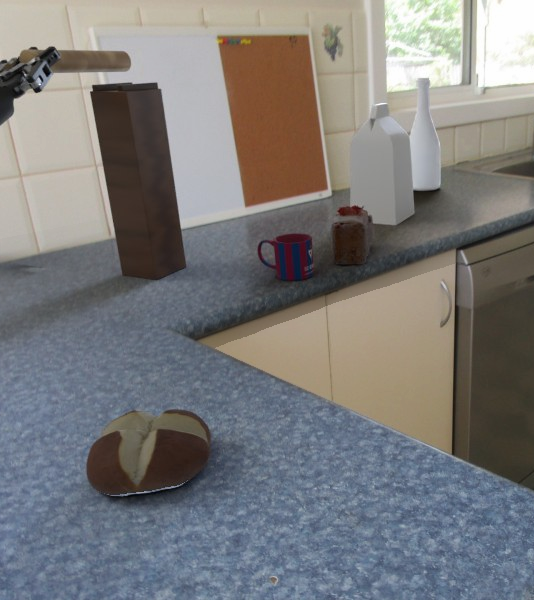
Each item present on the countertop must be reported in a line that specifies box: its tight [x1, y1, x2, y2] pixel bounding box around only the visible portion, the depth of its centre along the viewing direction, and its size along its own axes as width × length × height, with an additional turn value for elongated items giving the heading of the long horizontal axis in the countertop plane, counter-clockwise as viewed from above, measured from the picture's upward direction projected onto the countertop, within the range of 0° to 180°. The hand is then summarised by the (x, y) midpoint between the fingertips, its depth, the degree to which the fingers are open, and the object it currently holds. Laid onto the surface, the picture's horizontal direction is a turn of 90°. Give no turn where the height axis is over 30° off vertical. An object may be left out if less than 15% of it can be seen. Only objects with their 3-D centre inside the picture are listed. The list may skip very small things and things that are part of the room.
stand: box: [89, 81, 187, 281], centre depth 117 cm, size 8×8×33 cm
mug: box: [257, 232, 315, 282], centre depth 118 cm, size 7×10×7 cm
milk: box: [349, 102, 415, 226], centre depth 153 cm, size 12×12×26 cm
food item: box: [330, 205, 374, 266], centre depth 128 cm, size 14×8×10 cm, turn 1°
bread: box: [85, 408, 212, 495], centre depth 64 cm, size 11×11×5 cm
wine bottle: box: [409, 77, 442, 192], centre depth 185 cm, size 10×10×30 cm
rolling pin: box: [18, 48, 132, 74], centre depth 114 cm, size 20×4×4 cm, turn 156°
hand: (46, 52), depth 108 cm, fingers closed on rolling pin, 3 cm apart
